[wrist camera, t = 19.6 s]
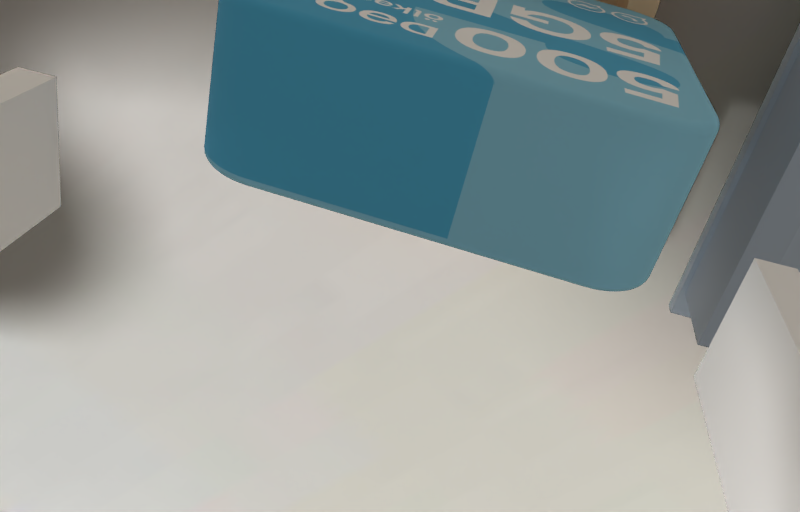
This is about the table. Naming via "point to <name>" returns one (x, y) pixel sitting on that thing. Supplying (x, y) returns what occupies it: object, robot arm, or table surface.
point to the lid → (750, 208)
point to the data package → (468, 123)
